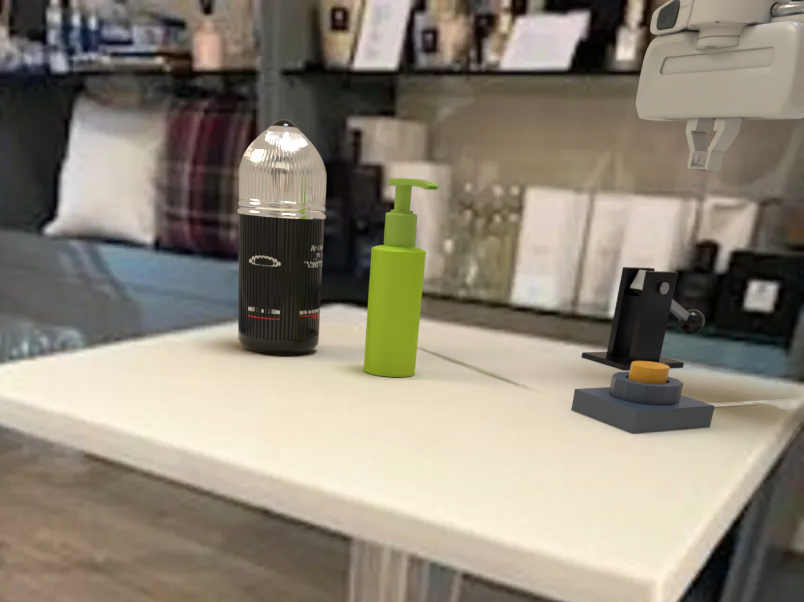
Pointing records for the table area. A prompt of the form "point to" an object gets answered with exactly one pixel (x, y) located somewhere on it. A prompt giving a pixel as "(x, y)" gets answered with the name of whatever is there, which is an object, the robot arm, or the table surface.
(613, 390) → the button housing
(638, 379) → the button
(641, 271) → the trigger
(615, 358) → the bracket
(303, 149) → the spray bottle
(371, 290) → the soap dispenser
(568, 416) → the table surface
